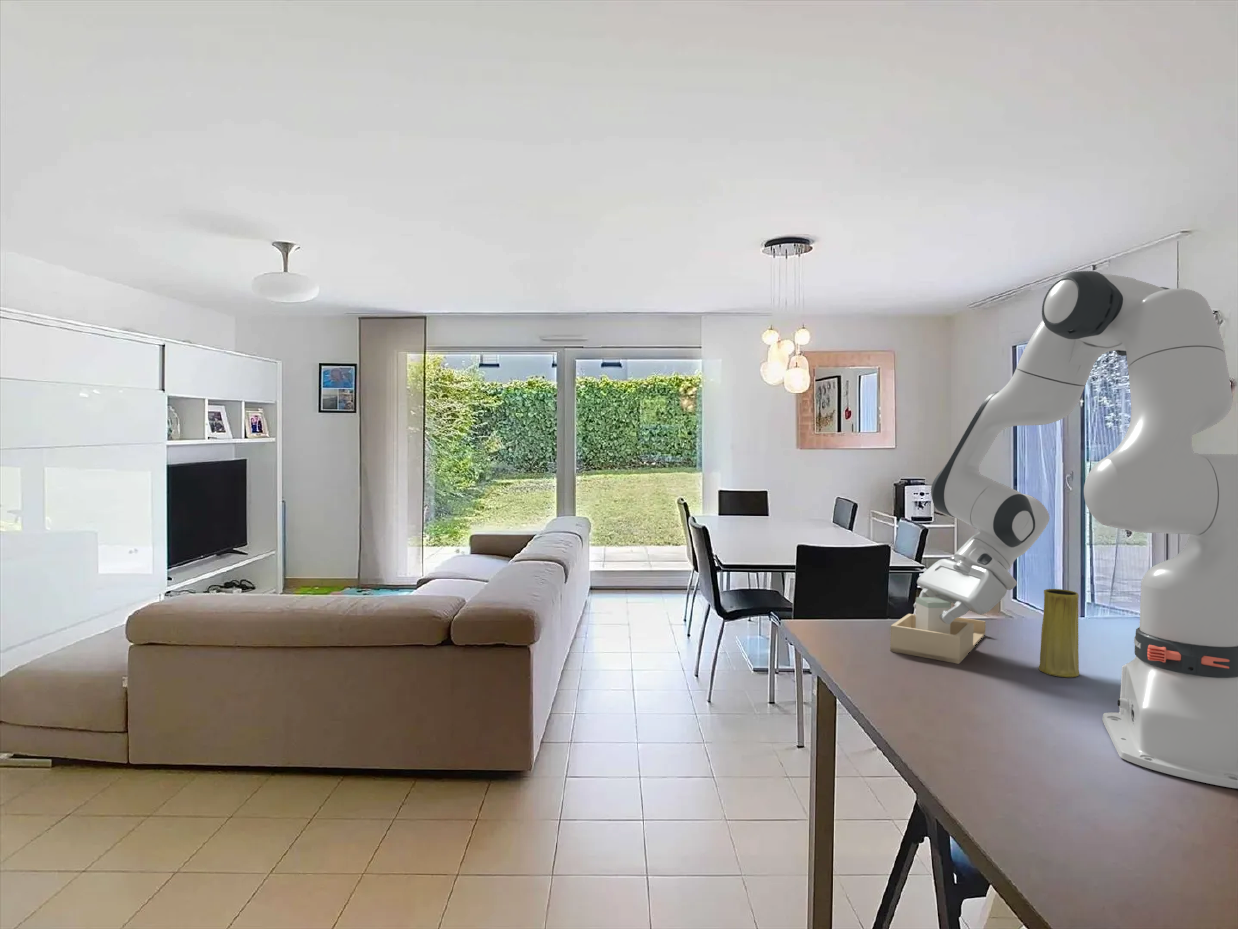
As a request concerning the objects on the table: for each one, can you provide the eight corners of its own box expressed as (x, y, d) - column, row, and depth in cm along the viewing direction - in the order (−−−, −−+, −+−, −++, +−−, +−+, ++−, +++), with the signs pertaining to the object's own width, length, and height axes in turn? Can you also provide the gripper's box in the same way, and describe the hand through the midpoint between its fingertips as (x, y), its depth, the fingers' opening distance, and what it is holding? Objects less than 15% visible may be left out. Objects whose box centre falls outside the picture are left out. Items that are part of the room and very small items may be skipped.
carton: (949, 649, 135) (951, 602, 135) (927, 649, 135) (928, 602, 134) (936, 642, 140) (938, 597, 139) (915, 642, 139) (916, 597, 139)
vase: (1067, 667, 127) (1070, 588, 127) (1086, 678, 121) (1089, 596, 121) (1032, 666, 128) (1034, 587, 127) (1049, 677, 122) (1051, 595, 121)
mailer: (959, 663, 129) (959, 636, 129) (890, 651, 136) (890, 625, 136) (985, 635, 148) (985, 611, 148) (923, 625, 156) (924, 603, 155)
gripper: (938, 545, 148) (893, 592, 147) (1001, 561, 127) (948, 616, 127) (958, 566, 148) (913, 613, 148) (1023, 586, 128) (971, 640, 127)
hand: (929, 615), depth 137 cm, fingers open, 8 cm apart
